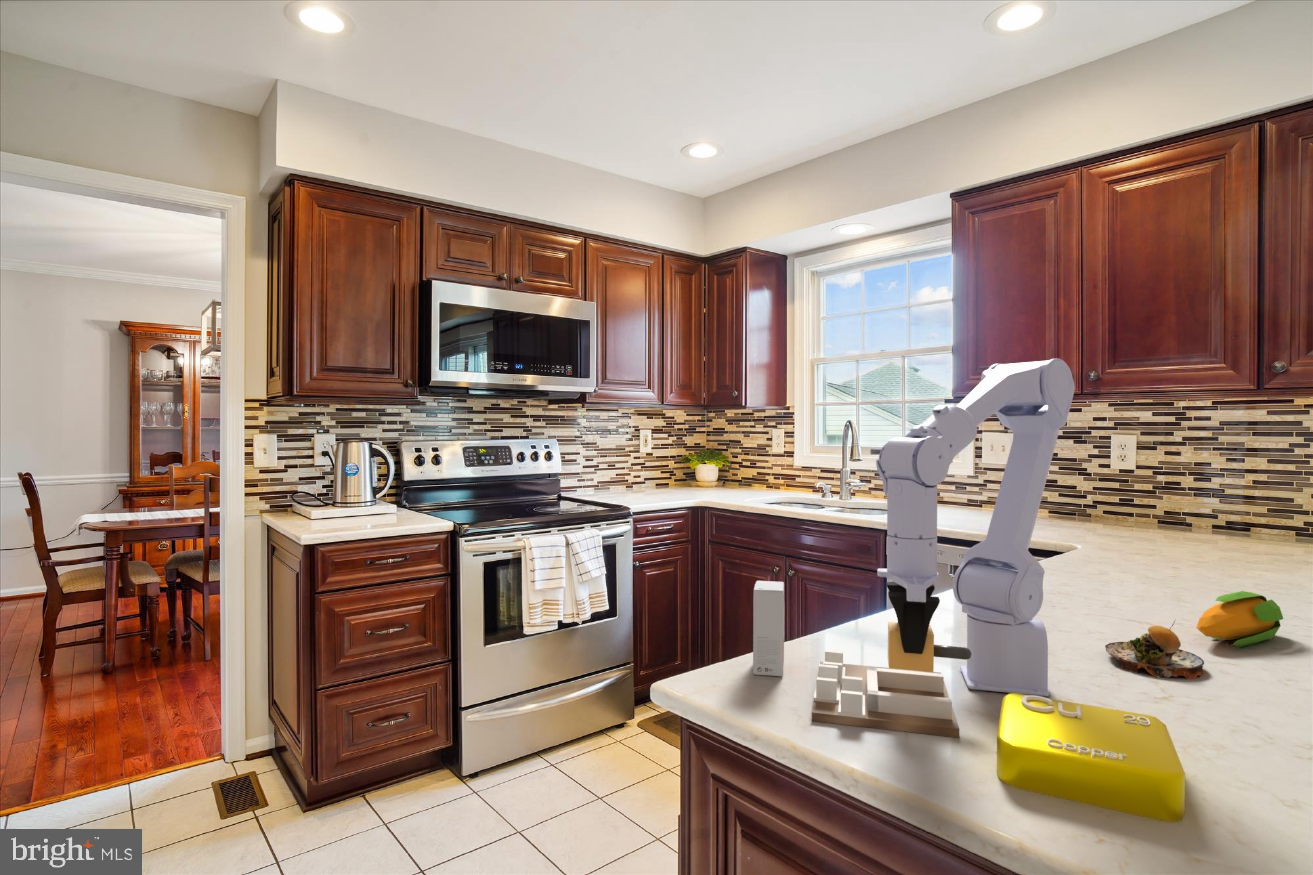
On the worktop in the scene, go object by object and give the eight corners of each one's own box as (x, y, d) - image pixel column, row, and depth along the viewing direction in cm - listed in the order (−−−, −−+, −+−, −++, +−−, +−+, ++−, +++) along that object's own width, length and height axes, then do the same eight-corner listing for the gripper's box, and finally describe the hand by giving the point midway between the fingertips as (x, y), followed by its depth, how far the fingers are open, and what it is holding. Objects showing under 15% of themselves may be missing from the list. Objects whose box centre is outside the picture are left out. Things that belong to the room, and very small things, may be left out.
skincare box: (783, 677, 95) (783, 590, 94) (752, 675, 95) (752, 589, 95) (784, 662, 101) (784, 581, 100) (755, 660, 101) (755, 579, 101)
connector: (968, 665, 84) (969, 628, 84) (973, 676, 80) (974, 638, 80) (887, 657, 87) (888, 621, 87) (888, 668, 83) (889, 630, 83)
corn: (1294, 590, 111) (1232, 606, 102) (1297, 638, 111) (1236, 658, 101) (1238, 584, 118) (1175, 598, 108) (1241, 629, 117) (1179, 647, 108)
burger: (1147, 649, 106) (1148, 601, 106) (1227, 676, 95) (1227, 622, 95) (1084, 656, 104) (1084, 607, 103) (1158, 685, 92) (1158, 629, 92)
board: (941, 679, 93) (941, 672, 93) (959, 737, 76) (959, 728, 76) (820, 668, 98) (820, 661, 98) (811, 720, 81) (811, 712, 81)
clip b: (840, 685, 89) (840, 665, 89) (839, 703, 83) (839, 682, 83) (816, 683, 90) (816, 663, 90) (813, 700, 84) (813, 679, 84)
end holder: (942, 689, 87) (942, 673, 87) (951, 719, 78) (951, 702, 78) (866, 681, 90) (866, 666, 90) (867, 710, 81) (867, 693, 81)
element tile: (995, 786, 67) (995, 737, 66) (1003, 726, 80) (1003, 685, 80) (1189, 830, 59) (1189, 775, 59) (1163, 756, 72) (1163, 711, 72)
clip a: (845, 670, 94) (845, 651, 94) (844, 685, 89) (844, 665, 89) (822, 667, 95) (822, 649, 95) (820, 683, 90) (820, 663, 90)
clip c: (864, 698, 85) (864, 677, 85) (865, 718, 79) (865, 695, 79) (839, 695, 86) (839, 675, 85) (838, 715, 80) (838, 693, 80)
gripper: (876, 526, 92) (875, 627, 92) (879, 544, 78) (878, 663, 78) (932, 528, 90) (932, 631, 90) (946, 546, 76) (945, 669, 76)
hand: (911, 646), depth 84 cm, fingers closed on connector, 4 cm apart
